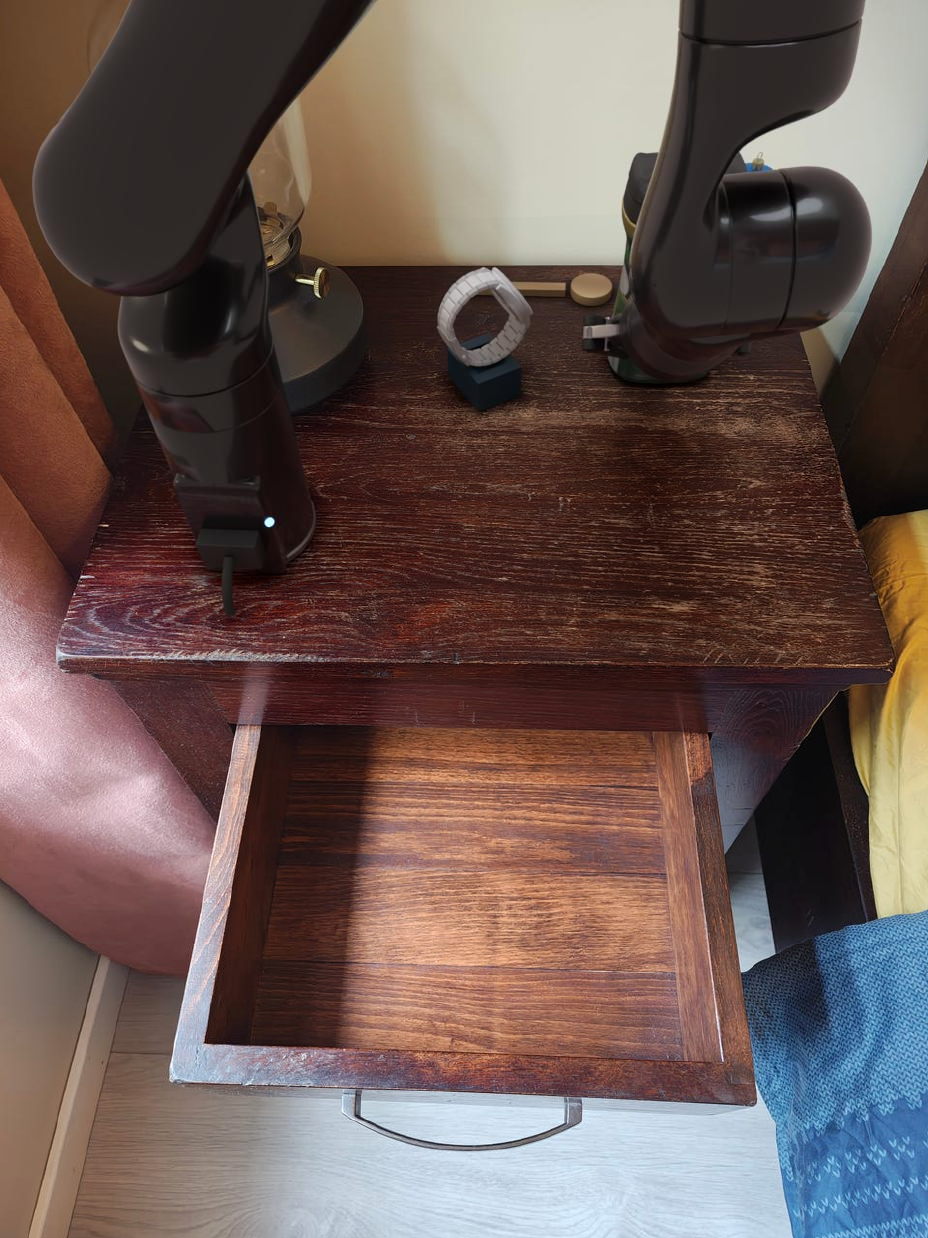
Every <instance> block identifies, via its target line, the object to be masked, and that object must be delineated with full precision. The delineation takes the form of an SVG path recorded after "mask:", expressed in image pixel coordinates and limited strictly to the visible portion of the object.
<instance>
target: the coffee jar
mask: <svg viewBox="0 0 928 1238" xmlns="http://www.w3.org/2000/svg"><path fill="white" fill-rule="evenodd" d="M658 153H659V151H658V152H657V151H655V152H637V153H636V154H635V155H634V157H633V159H632V162H631V163H630V168H629V171H628V177H627V178H628V179H627V181H626V184H625V190H624V193H623V196H622V201H621V219H622V225H623V228H624V232H625V236H626V238H625V239H626V241H625V248H624V249H625V250H624V258H623V265H622V270H621V274H620V280H619V284H618V289H617V293H616V297H615V301H614V306H613V310H612V315H611V319H612V318H613V317H614V316H615V315H617V314H620V313H623V310H624V307H625V305H626V303H627V300H628V299H629V297H630V295H631V290H630V284H629V260H630V252H631V246H632V242H633V238H634V233H635V229H636V225H637V221H638V218H639V215H640V211H641V208H642V205H643V202H644V199H645V195H646V192H647V189H648V186H649V183H650V180H651V177H652V174H653V171H654V167H655V164H656V160H657V157H658ZM745 163H746V162H745V159H744V157H743V155H742V153H741V151H740V152H739V153H738V154H737V156H736V157H735V158H734V160H733V161H732V163H731V164H730V166H729V167H728V169H727V171H726V173H725V174H724V175H726V174H736V173H746V172H747V167H746V164H745ZM607 360H608V363H609V365H610V368H611V370H612V371H613V372H614V373H615V375H617V376H618V377H620V378H621V379H623V380H624V381H627V382H631V383H639V384H673V383H674V384H675V383H686V382H694V381H697V380H700V379H703V378H704V377H706V376H707V375H708V374H709V373H710V372H711V371H712V369H713V368H714V367H712V368H711V369H709V370H707V371H705V372H704V373H702V374H700V375H698V376H696V377H694V378H691V379H688V380H683V381H664V380H659V379H656V378H654V377H651V376H649V375H647V374H646V373H644V372H643V371H641V370H640V369H639V368H638V367H637V366H636V365H635V364H634V363H633V362H632V360H631V359H630V358H628V360H621V358H616V357H611V356H607Z"/></svg>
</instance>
